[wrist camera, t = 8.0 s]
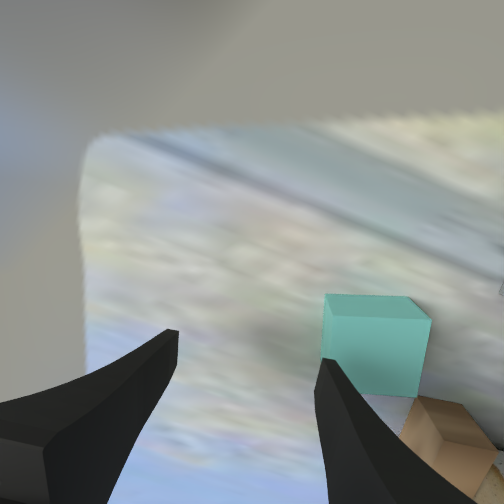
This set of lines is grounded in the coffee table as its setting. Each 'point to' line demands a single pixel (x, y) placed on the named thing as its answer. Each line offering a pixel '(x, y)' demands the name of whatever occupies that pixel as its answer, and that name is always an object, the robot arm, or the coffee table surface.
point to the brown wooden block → (449, 442)
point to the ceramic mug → (492, 484)
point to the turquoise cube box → (376, 341)
